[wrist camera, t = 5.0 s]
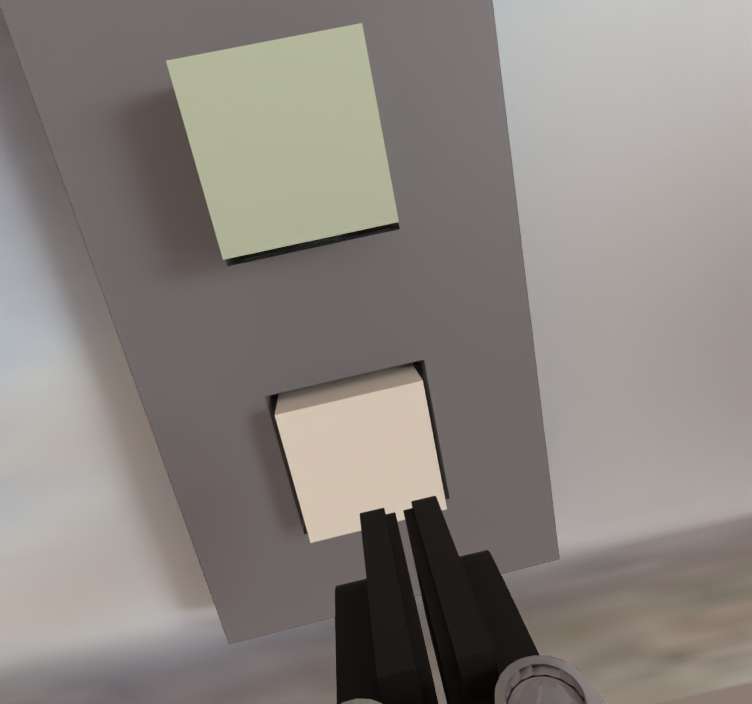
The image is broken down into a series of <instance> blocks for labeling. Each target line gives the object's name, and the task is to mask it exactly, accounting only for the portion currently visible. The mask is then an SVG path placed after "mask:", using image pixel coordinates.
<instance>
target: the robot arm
mask: <svg viewBox="0 0 752 704" xmlns="http://www.w3.org/2000/svg"><path fill="white" fill-rule="evenodd" d="M411 503H412V508H411V509H406V510H403V512H404V517H405V521H406V526H407V531H408V535H409V540H410V545H411V549H412V554H413V558H414V563H415V568H416V572H417V577H418V581H419V586H420V591H421V595H422V600H423V605H424V609H425V614H426V618H427V622H428V627H429V631H430V635H431V639H432V643H433V647H434V651H435V655H436V660H437V664H438V668H439V672H440V676H441V680H442V684H443V688H444V692H445V697H446V701H447V704H606V703H605V701H604V700H603V699H602V697H601V696H600V695H599V693H598V692H597V691H596V689H595V688H594V687H593V685H592V684H591V683H590V681H589V680H588V679H587V678H586V677H585V676H584V675H583V674H582V673H581V672H580V671H579V670H578V669H577V668H575V667H574V666H572V665H570V664H569V663H567V662H565V661H564V660H560V659H557V658H554V657H550V656H539V653H538V651H537V649H536V647H535V645H534V643H533V641H532V639H531V637H530V635H529V632H528V630H527V628H526V626H525V624H524V622H523V620H522V618H521V616H520V614H519V611H518V609H517V607H516V605H515V603H514V601H513V599H512V597H511V595H510V593H509V590H508V588H507V586H506V584H505V582H504V580H503V578H502V576H501V574H500V572H499V569H498V567H497V565H496V563H495V561H494V559H493V557H492V555H491V553H490V552H489V551H488V550H485V551H481V552H477V553H472V554H468V555H464V556H460V557H459V555H458V552H457V550H456V547H455V544H454V542H453V539H452V537H451V534H450V531H449V529H448V526H447V523H446V521H445V518H444V516H443V513H442V510H441V508H440V505H439V502H438V500H437V497H436V496H432V497H427V498H423V499H419V500H414V501H411ZM360 523H361V532H362V542H363V551H364V560H365V570H366V579H363V580H359V581H354V582H350V583H346V584H342V585H338V586H336V587H335V629H336V679H337V704H438V700H437V695H436V691H435V686H434V682H433V677H432V673H431V668H430V664H429V659H428V655H427V651H426V646H425V642H424V637H423V633H422V628H421V624H420V620H419V615H418V611H417V606H416V602H415V597H414V593H413V588H412V584H411V580H410V575H409V571H408V566H407V562H406V557H405V553H404V549H403V544H402V540H401V535H400V531H399V526H398V522H397V518H396V513H395V512H394V513H389V514H386V513H385V509H384V508H380V509H376V510H371V511H367V512H363V513H360Z"/></svg>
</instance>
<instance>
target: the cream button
mask: <svg viewBox="0 0 752 704" xmlns="http://www.w3.org/2000/svg"><path fill="white" fill-rule="evenodd" d="M275 419H276V422H277V426H278V429H279V433H280V436H281V440H282V444H283V447H284V451H285V454H286V458H287V461H288V465H289V468H290V472H291V475H292V479H293V483H294V486H295V490H296V493H297V497H298V500H299V504H300V507H301V511H302V514H303V518H304V522H305V525H306V529H307V532H308V536H309V539H310V543H313V542H317V541H321V540H325V539H329V538H333V537H337V536H341V535H345V534H349V533H353V532H357V531H361V523H360V513H363V512H367V511H371V510H376V509H380V508H384V509H385V513H386V514H389V513H394V512H395V513H396V518H397V521H401V520H405V517H404V512H403V510H406V509H411V508H412V503H411V501H414V500H419V499H423V498H427V497H432V496H436V497H437V500H438V502H439V505H440V508H441V510H446V509H447V506H446V501H445V496H444V490H443V485H442V480H441V474H440V469H439V464H438V458H437V453H436V448H435V443H434V437H433V432H432V427H431V421H430V416H429V411H428V405H427V400H426V395H425V389H424V384H423V380H422V378H421V377H420V375H419V374H418V372H417V371H416V369H415V368H414V366H413V365H412V363H407V364H403V365H398V366H394V367H390V368H386V369H381V370H377V371H373V372H368V373H364V374H360V375H355V376H351V377H347V378H342V379H338V380H334V381H329V382H325V383H321V384H316V385H312V386H308V387H303V388H299V389H295V390H291V391H286V392H282V393H279V395H278V400H277V405H276V410H275Z"/></svg>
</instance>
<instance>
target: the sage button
mask: <svg viewBox="0 0 752 704" xmlns="http://www.w3.org/2000/svg"><path fill="white" fill-rule="evenodd" d="M166 63H167V66H168V70H169V73H170V77H171V80H172V84H173V87H174V91H175V94H176V98H177V101H178V105H179V108H180V112H181V115H182V119H183V122H184V126H185V129H186V133H187V136H188V140H189V143H190V147H191V150H192V154H193V157H194V161H195V164H196V168H197V171H198V175H199V178H200V181H201V185H202V188H203V192H204V195H205V199H206V202H207V206H208V209H209V213H210V216H211V220H212V223H213V227H214V230H215V234H216V237H217V241H218V244H219V248H220V251H221V255H222V258H223V260H225V259H229V258H234V257H239V256H243V255H248V254H253V253H257V252H262V251H266V250H271V249H276V248H280V247H285V246H290V245H294V244H299V243H304V242H308V241H313V240H318V239H322V238H327V237H331V236H336V235H341V234H345V233H350V232H355V231H359V230H364V229H369V228H373V227H378V226H382V225H387V224H392V223H396V222H399V220H398V214H397V209H396V204H395V198H394V193H393V187H392V182H391V177H390V171H389V166H388V160H387V155H386V150H385V144H384V139H383V133H382V128H381V123H380V117H379V112H378V106H377V101H376V96H375V90H374V85H373V79H372V74H371V69H370V63H369V58H368V52H367V47H366V42H365V36H364V31H363V25H362V23H359V24H354V25H349V26H344V27H339V28H333V29H328V30H323V31H318V32H313V33H307V34H302V35H297V36H292V37H287V38H281V39H276V40H271V41H266V42H261V43H255V44H250V45H245V46H240V47H235V48H229V49H224V50H219V51H214V52H209V53H203V54H198V55H193V56H188V57H183V58H177V59H172V60H167V61H166Z"/></svg>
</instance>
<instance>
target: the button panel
mask: <svg viewBox="0 0 752 704" xmlns="http://www.w3.org/2000/svg"><path fill="white" fill-rule="evenodd" d="M0 8H1V11H2V13H3V16H4V19H5V22H6V25H7V27H8V30H9V33H10V36H11V39H12V41H13V44H14V47H15V50H16V52H17V55H18V58H19V61H20V64H21V66H22V69H23V72H24V75H25V78H26V80H27V83H28V86H29V89H30V91H31V94H32V97H33V100H34V103H35V105H36V108H37V111H38V114H39V116H40V119H41V122H42V125H43V128H44V130H45V133H46V136H47V139H48V142H49V144H50V147H51V150H52V153H53V155H54V158H55V161H56V164H57V167H58V169H59V172H60V175H61V178H62V181H63V183H64V186H65V189H66V192H67V194H68V197H69V200H70V203H71V206H72V208H73V211H74V214H75V217H76V220H77V222H78V225H79V228H80V231H81V233H82V236H83V239H84V242H85V245H86V247H87V250H88V253H89V256H90V259H91V261H92V264H93V267H94V270H95V272H96V275H97V278H98V281H99V284H100V286H101V289H102V292H103V295H104V298H105V300H106V303H107V306H108V309H109V311H110V314H111V317H112V320H113V323H114V325H115V328H116V331H117V334H118V337H119V339H120V342H121V345H122V348H123V350H124V353H125V356H126V359H127V362H128V364H129V367H130V370H131V373H132V376H133V378H134V381H135V384H136V387H137V389H138V392H139V395H140V398H141V401H142V403H143V406H144V409H145V412H146V414H147V417H148V420H149V423H150V426H151V428H152V431H153V434H154V437H155V440H156V442H157V445H158V448H159V451H160V453H161V456H162V459H163V462H164V465H165V467H166V470H167V473H168V476H169V479H170V481H171V484H172V487H173V490H174V492H175V495H176V498H177V501H178V504H179V506H180V509H181V512H182V515H183V518H184V520H185V523H186V526H187V529H188V531H189V534H190V537H191V540H192V543H193V545H194V548H195V551H196V554H197V557H198V559H199V562H200V565H201V568H202V570H203V573H204V576H205V579H206V582H207V584H208V587H209V590H210V593H211V596H212V598H213V601H214V604H215V607H216V609H217V612H218V615H219V618H220V621H221V623H222V626H223V629H224V632H225V635H226V637H227V640H228V643H229V644H232V643H236V642H240V641H244V640H248V639H251V638H255V637H259V636H263V635H267V634H271V633H275V632H279V631H282V630H286V629H290V628H294V627H298V626H302V625H306V624H310V623H313V622H317V621H321V620H325V619H329V618H333V617H335V587H336V586H338V585H342V584H346V583H350V582H354V581H359V580H363V579H366V570H365V560H364V551H363V542H362V532H361V531H357V532H353V533H349V534H345V535H341V536H337V537H333V538H329V539H325V540H321V541H317V542H313V543H310V539H309V536H308V532H307V529H306V525H305V522H304V518H303V514H302V511H301V507H300V504H299V500H298V497H297V493H296V490H295V486H294V483H293V479H292V475H291V472H290V468H289V465H288V461H287V458H286V454H285V451H284V447H283V444H282V440H281V436H280V433H279V429H278V426H277V422H276V419H275V410H276V405H277V399H276V395H275V394H278V393H282V392H286V391H291V390H295V389H299V388H303V387H308V386H312V385H316V384H321V383H325V382H329V381H334V380H338V379H342V378H347V377H351V376H355V375H360V374H364V373H368V372H373V371H377V370H381V369H386V368H390V367H394V366H398V365H403V364H407V363H411V362H416V366H417V371H418V374H419V375H420V377H421V378H422V380H423V384H424V389H425V395H426V400H427V405H428V411H429V416H430V421H431V427H432V432H433V437H434V443H435V448H436V453H437V458H438V464H439V469H440V474H441V480H442V485H443V490H444V496H445V501H446V506H447V509H446V510H442V513H443V516H444V518H445V521H446V523H447V526H448V529H449V531H450V534H451V537H452V539H453V542H454V544H455V547H456V550H457V552H458V555H459V557H460V556H464V555H468V554H472V553H477V552H481V551H485V550H488V551H489V552H490V553H491V555H492V557H493V559H494V561H495V563H496V565H497V567H498V569H499V572H500V574H503V573H507V572H511V571H515V570H519V569H523V568H527V567H531V566H534V565H538V564H542V563H546V562H550V561H554V560H558V559H559V551H558V543H557V534H556V526H555V518H554V509H553V501H552V493H551V484H550V476H549V468H548V459H547V451H546V443H545V434H544V426H543V418H542V409H541V401H540V393H539V385H538V376H537V368H536V360H535V351H534V343H533V335H532V326H531V318H530V310H529V301H528V293H527V285H526V276H525V268H524V260H523V251H522V243H521V235H520V226H519V218H518V210H517V201H516V193H515V185H514V177H513V168H512V160H511V152H510V143H509V135H508V127H507V118H506V110H505V102H504V93H503V85H502V77H501V68H500V60H499V52H498V43H497V35H496V27H495V18H494V10H493V2H492V0H0ZM359 23H362V25H363V31H364V36H365V42H366V47H367V52H368V58H369V63H370V69H371V74H372V79H373V85H374V90H375V96H376V101H377V106H378V112H379V117H380V123H381V128H382V133H383V139H384V144H385V150H386V155H387V160H388V166H389V171H390V177H391V182H392V187H393V193H394V198H395V204H396V209H397V214H398V220H399V222H396V223H392V224H390V228H385V229H381V230H376V231H371V232H367V233H362V234H357V235H353V236H348V237H343V238H339V239H334V240H330V241H325V242H320V243H316V244H311V245H306V246H302V247H297V248H292V249H288V250H283V251H279V252H274V253H269V254H265V255H260V256H255V257H251V258H246V259H242V260H238V259H237V257H234V258H229V259H225V260H223V258H222V255H221V251H220V248H219V244H218V241H217V237H216V234H215V230H214V227H213V223H212V220H211V216H210V213H209V209H208V206H207V202H206V199H205V195H204V192H203V188H202V185H201V181H200V178H199V175H198V171H197V168H196V164H195V161H194V157H193V154H192V150H191V147H190V143H189V140H188V136H187V133H186V129H185V126H184V122H183V119H182V115H181V112H180V108H179V105H178V101H177V98H176V94H175V91H174V87H173V84H172V80H171V77H170V73H169V70H168V66H167V63H166V61H167V60H172V59H177V58H183V57H188V56H193V55H198V54H203V53H209V52H214V51H219V50H224V49H229V48H235V47H240V46H245V45H250V44H255V43H261V42H266V41H271V40H276V39H281V38H287V37H292V36H297V35H302V34H307V33H313V32H318V31H323V30H328V29H333V28H339V27H344V26H349V25H354V24H359ZM397 522H398V526H399V531H400V535H401V540H402V544H403V549H404V553H405V557H406V562H407V566H408V571H409V575H410V580H411V584H412V588H413V593H414V596H418V595H421V591H420V586H419V581H418V577H417V572H416V568H415V563H414V558H413V554H412V549H411V545H410V540H409V535H408V531H407V526H406V521H405V520H401V521H397Z"/></svg>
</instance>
